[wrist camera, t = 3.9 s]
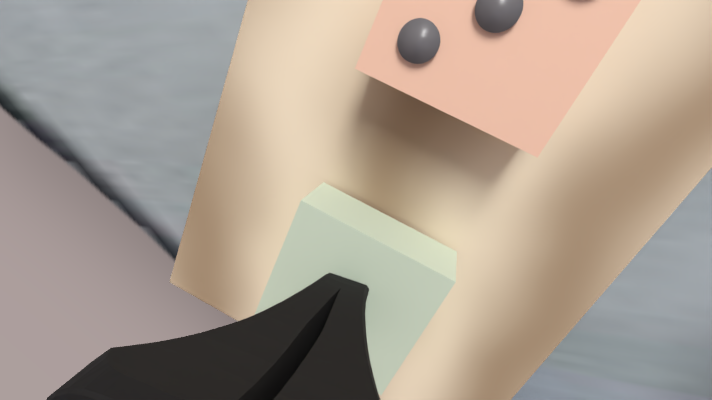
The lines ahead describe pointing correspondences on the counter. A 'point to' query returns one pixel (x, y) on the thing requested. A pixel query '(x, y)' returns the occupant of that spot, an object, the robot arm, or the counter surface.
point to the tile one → (366, 270)
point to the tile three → (494, 58)
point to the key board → (451, 181)
